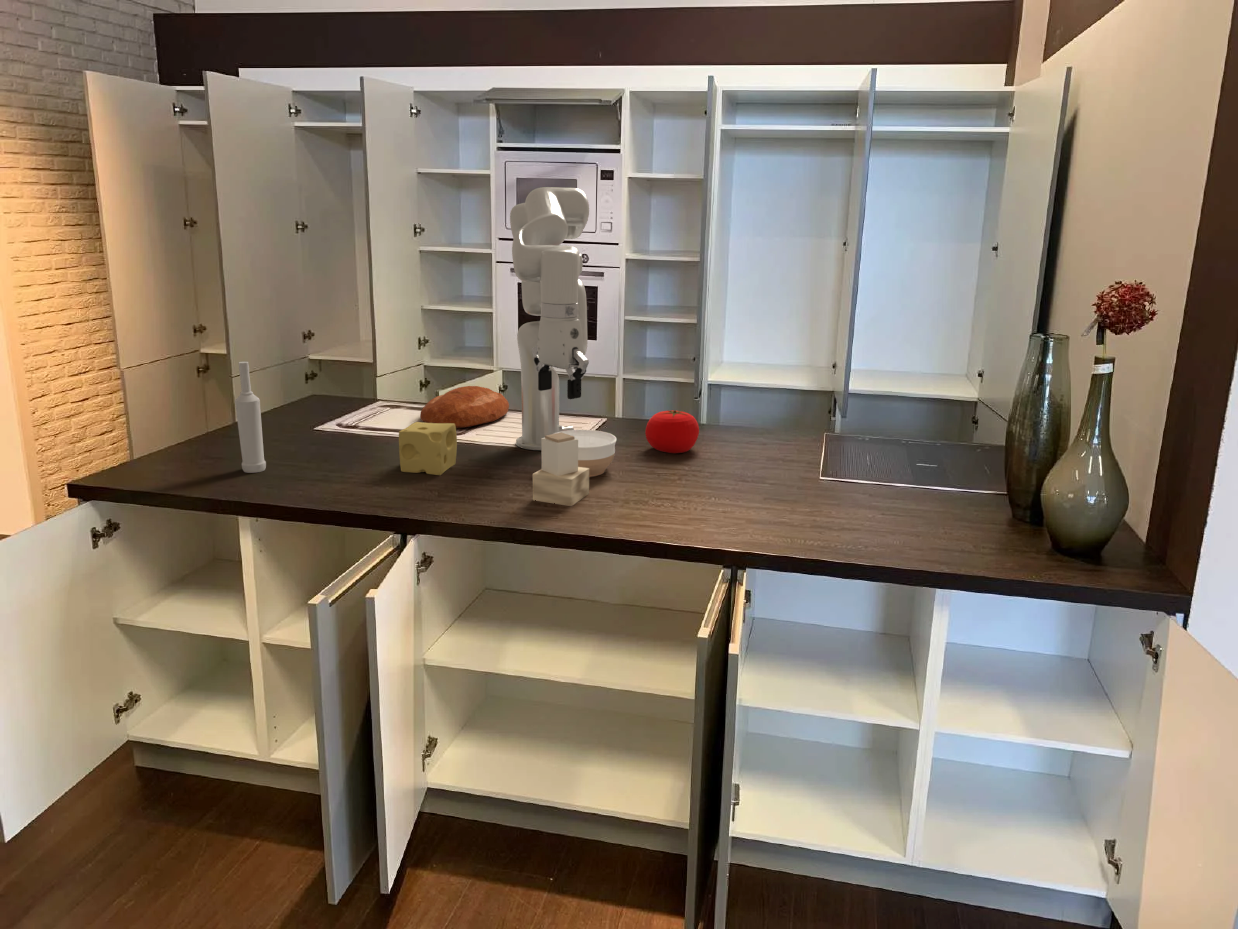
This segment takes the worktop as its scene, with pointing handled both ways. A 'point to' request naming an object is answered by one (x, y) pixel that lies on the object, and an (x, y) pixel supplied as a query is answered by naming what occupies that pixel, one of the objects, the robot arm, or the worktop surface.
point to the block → (561, 487)
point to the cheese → (428, 447)
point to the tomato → (672, 431)
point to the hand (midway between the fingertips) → (559, 393)
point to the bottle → (249, 424)
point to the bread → (465, 407)
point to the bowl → (594, 449)
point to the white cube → (559, 454)
